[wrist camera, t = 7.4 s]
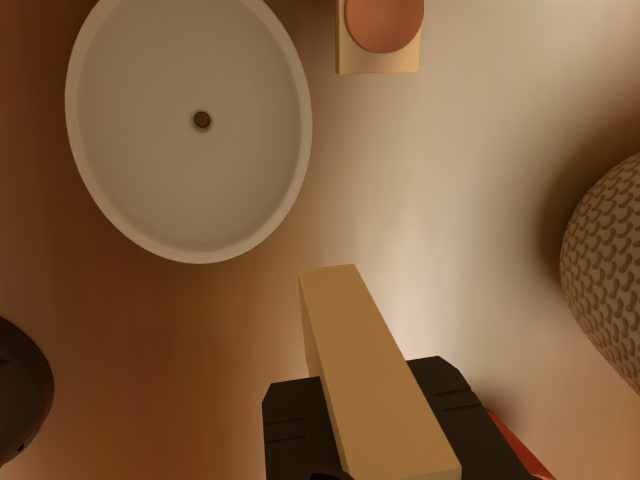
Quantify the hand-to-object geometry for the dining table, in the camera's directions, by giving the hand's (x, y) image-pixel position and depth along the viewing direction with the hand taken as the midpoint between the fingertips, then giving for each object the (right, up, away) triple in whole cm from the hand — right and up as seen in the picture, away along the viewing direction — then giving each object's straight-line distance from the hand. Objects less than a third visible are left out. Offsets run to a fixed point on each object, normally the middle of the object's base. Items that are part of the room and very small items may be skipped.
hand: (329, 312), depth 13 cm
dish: (-8, +10, +20) cm, 24 cm away
